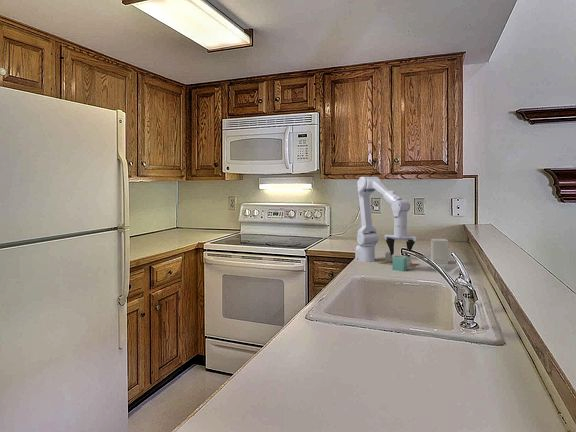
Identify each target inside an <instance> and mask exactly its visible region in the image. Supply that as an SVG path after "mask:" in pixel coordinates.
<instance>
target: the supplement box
mask: <svg viewBox="0 0 576 432" xmlns="http://www.w3.org/2000/svg"><path fill="white" fill-rule="evenodd" d="M429 257H430V259H431V260H432V261H434V262H435V263H437V264H436V265H449V240H448V239H446V238H430V256H429ZM430 259H429V260H430Z"/></svg>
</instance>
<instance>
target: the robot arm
mask: <svg viewBox="0 0 576 432" xmlns="http://www.w3.org/2000/svg"><path fill="white" fill-rule="evenodd" d="M381 181H382V180H381V178H379V177H378V176H360V177H359V178H358V181H357V182H356V183H357V184H356V185H357V193H358V202H359V213H360V224H361V227H360V228H359V229H358V230H357V235H356V241H357V245H356V246H355V251H354V252H355V253H354V254H355V255H354V256H355V257H354V258H355V261H356V262H364V263H374V262H375V261H376V260H375V259H376V257H375V256H376V255H375V254H376V251H375V250H376V247H375V246H377V244H378V243H379V235H378V233H377V228H375V227H374V226H373V223H372V221H373V219H372V210H371V209H372V208H371V200H370V199H371V198H370V196H371V194H372V193H374V192H375V191H376V192H378V193H379V194H380V195H382V196H383V200H384V201H385V202H386V203H387V204H388V205H390V208H391V211H392V215H393V234H388V233H387V234H384V240H385V243H386V244H387V247H388V249H389V252H390V253H391V255H392V256H394V254H395V240H398V241H406V242H405V243H406V244H405V245H406V250H407V249H409V250H411V251H412V250H413V247H414V245H415V243H416V242H417V241H418V237H417V235H415V236H414V235H409V234H408V212H409V211H410V208H411V203H410V202H409V200H408V199H405V198H404V199H403V198H402V196H399V195H398V194H397V193H396V191H395V190H389V189H388V188H387V187H386V186H385V185H384V184H383V183H382V182H381ZM409 256H410V255H407V257H409Z"/></svg>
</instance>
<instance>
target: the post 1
mask: <svg viewBox="0 0 576 432" xmlns="http://www.w3.org/2000/svg"><path fill="white" fill-rule="evenodd" d="M384 255H385V258H384V260H385V263H392V261H393V255H391V253H390V251H387V252H385V254H384Z"/></svg>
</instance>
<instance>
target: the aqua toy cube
mask: <svg viewBox="0 0 576 432" xmlns="http://www.w3.org/2000/svg"><path fill="white" fill-rule="evenodd" d="M392 261H393V265H392V271H397V272H405V271H407V270H408V267H407V262H408V257H405V256H398V255H397V256H394V257H392Z"/></svg>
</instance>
